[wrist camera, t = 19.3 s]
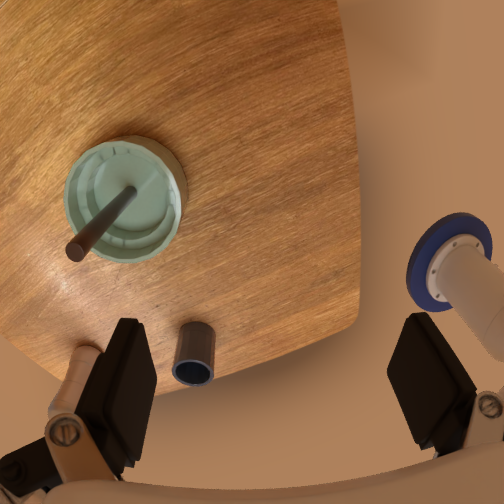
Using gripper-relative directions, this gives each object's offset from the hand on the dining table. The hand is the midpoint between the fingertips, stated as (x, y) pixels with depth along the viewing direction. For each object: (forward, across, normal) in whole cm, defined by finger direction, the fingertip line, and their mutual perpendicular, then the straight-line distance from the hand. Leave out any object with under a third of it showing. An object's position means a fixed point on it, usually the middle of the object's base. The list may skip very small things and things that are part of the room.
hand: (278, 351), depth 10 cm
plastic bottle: (+29, +28, +31) cm, 51 cm away
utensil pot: (+29, +8, +26) cm, 40 cm away
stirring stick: (+28, +15, +2) cm, 32 cm away
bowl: (+29, +15, +2) cm, 33 cm away
